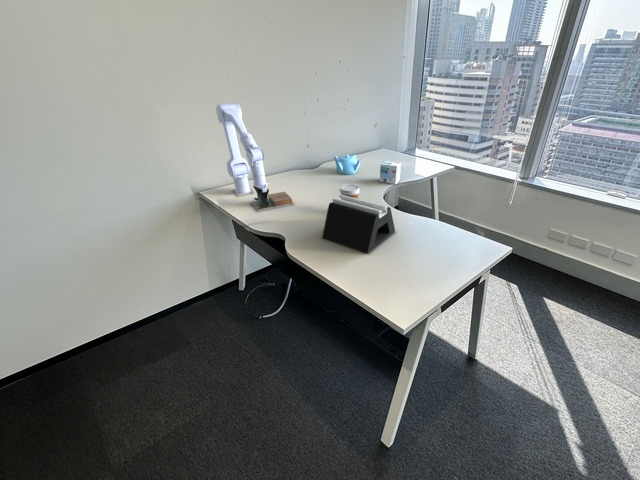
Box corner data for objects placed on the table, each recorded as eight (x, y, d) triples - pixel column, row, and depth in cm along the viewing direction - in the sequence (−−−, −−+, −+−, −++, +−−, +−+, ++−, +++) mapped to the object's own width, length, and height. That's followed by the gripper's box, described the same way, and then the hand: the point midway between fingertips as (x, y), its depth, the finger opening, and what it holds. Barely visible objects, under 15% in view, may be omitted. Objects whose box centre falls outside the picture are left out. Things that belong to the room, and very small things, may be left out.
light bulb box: (379, 181, 197) (380, 163, 191) (383, 178, 202) (383, 160, 196) (396, 184, 194) (397, 166, 188) (399, 180, 199) (400, 163, 193)
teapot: (361, 175, 207) (361, 157, 201) (337, 176, 204) (337, 158, 198) (356, 167, 219) (356, 151, 213) (334, 168, 216) (333, 152, 210)
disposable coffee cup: (362, 209, 164) (362, 185, 157) (355, 216, 156) (355, 192, 149) (344, 206, 166) (344, 183, 159) (337, 213, 159) (336, 189, 152)
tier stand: (251, 203, 167) (250, 197, 165) (285, 197, 175) (284, 191, 173) (257, 211, 159) (255, 205, 157) (292, 204, 167) (291, 198, 165)
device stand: (367, 253, 128) (368, 218, 120) (322, 238, 138) (320, 205, 129) (394, 231, 144) (397, 199, 135) (352, 219, 154) (352, 188, 145)
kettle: (267, 201, 168) (265, 191, 165) (269, 204, 164) (268, 194, 161) (254, 203, 165) (252, 193, 162) (256, 206, 162) (254, 196, 159)
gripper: (271, 177, 153) (275, 204, 161) (262, 169, 163) (267, 195, 171) (255, 179, 150) (261, 207, 158) (248, 171, 160) (253, 197, 168)
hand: (263, 201), depth 164 cm, fingers closed on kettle, 5 cm apart
